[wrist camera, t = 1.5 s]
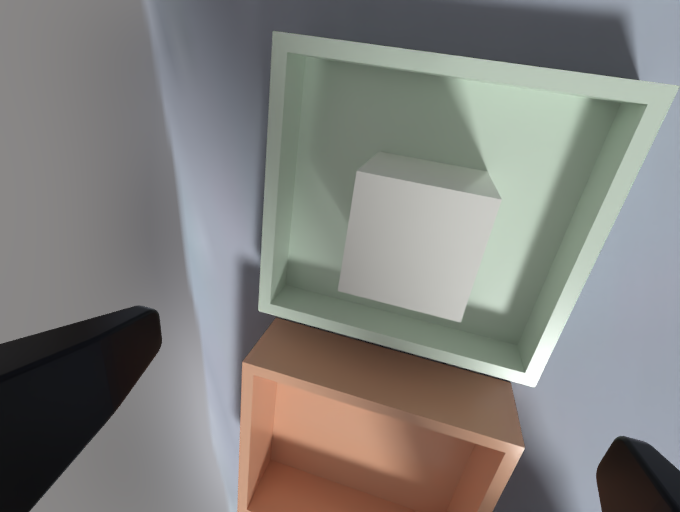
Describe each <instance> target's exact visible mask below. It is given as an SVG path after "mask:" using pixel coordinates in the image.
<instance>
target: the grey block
mask: <svg viewBox="0 0 680 512" xmlns="http://www.w3.org/2000/svg"><path fill="white" fill-rule="evenodd" d="M501 201H502V199H501V197H500V195H499V193H498V191H497V189H496V187H495V185H494V183H493V181H492V179H491V177H490V175H489V173H488V171H483V170H477V169H472V168H466V167H461V166H456V165H450V164H445V163H440V162H434V161H429V160H423V159H418V158H413V157H407V156H402V155H396V154H391V153H386V152H380V151H379V152H378V153H377V154H376V155H374V156H373V157H372V158H371V159H370V160H369V161H368V162H366V163H365V164H364V165H363V166H362V167H361V168H359V169H358V170H357V172H356V178H355V185H354V191H353V197H352V204H351V210H350V216H349V223H348V229H347V236H346V242H345V248H344V255H343V261H342V267H341V274H340V280H339V286H338V291H340V292H344V293H347V294H351V295H355V296H359V297H363V298H367V299H371V300H375V301H379V302H382V303H386V304H390V305H394V306H398V307H402V308H406V309H410V310H414V311H418V312H421V313H425V314H429V315H433V316H437V317H441V318H445V319H449V320H453V321H457V322H460V323H461V320H462V317H463V314H464V311H465V308H466V305H467V302H468V299H469V296H470V293H471V290H472V287H473V284H474V281H475V278H476V275H477V272H478V269H479V266H480V263H481V260H482V257H483V254H484V251H485V248H486V245H487V243H488V240H489V237H490V234H491V231H492V228H493V225H494V222H495V219H496V216H497V213H498V210H499V207H500V204H501Z"/></svg>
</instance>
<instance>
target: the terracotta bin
mask: <svg viewBox="0 0 680 512" xmlns="http://www.w3.org/2000/svg"><path fill="white" fill-rule="evenodd" d="M524 449H525V445H524V441H523V436H522V432H521V427H520V423H519V418H518V413H517V409H516V404H515V400H514V395H513V390H512V386H511V383H510V382H507V381H503V380H499V379H496V378H492V377H489V376H485V375H481V374H478V373H474V372H471V371H467V370H463V369H460V368H456V367H453V366H449V365H445V364H442V363H438V362H435V361H431V360H427V359H424V358H420V357H417V356H413V355H409V354H406V353H402V352H398V351H395V350H391V349H388V348H384V347H380V346H377V345H373V344H370V343H366V342H362V341H359V340H355V339H352V338H348V337H344V336H341V335H337V334H334V333H330V332H326V331H323V330H319V329H316V328H312V327H308V326H305V325H301V324H298V323H294V322H290V321H287V320H283V319H280V318H275V320H274V321H273V322H272V323H271V325H270V326H269V327H268V329H267V330H266V331H265V333H264V334H263V335H262V337H261V338H260V339H259V341H258V342H257V343H256V345H255V346H254V347H253V348H252V350H251V351H250V352H249V354H248V355H247V356H246V358H245V359H244V360H243V362H242V387H241V418H240V448H239V479H238V510H237V512H492V511H493V509H494V507H495V505H496V503H497V502H498V500H499V498H500V496H501V494H502V492H503V490H504V488H505V486H506V484H507V482H508V480H509V478H510V476H511V474H512V472H513V470H514V468H515V467H516V465H517V463H518V461H519V459H520V457H521V455H522V453H523V451H524Z"/></svg>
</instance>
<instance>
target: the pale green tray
mask: <svg viewBox="0 0 680 512" xmlns="http://www.w3.org/2000/svg"><path fill="white" fill-rule="evenodd" d="M679 87H680V86H677V85H669V84H662V83H654V82H647V81H640V80H632V79H625V78H618V77H610V76H603V75H595V74H588V73H581V72H573V71H566V70H559V69H551V68H544V67H536V66H529V65H522V64H514V63H507V62H499V61H492V60H485V59H477V58H470V57H463V56H455V55H448V54H440V53H433V52H426V51H418V50H411V49H404V48H396V47H389V46H381V45H374V44H367V43H359V42H352V41H345V40H337V39H330V38H322V37H315V36H308V35H300V34H293V33H285V32H278V31H273V34H272V54H271V73H270V92H269V111H268V130H267V150H266V169H265V188H264V207H263V226H262V246H261V265H260V284H259V303H258V311H260V312H263V313H267V314H271V315H274V316H278V317H281V318H285V319H289V320H292V321H296V322H300V323H303V324H307V325H310V326H314V327H318V328H321V329H325V330H328V331H332V332H336V333H339V334H343V335H346V336H350V337H354V338H357V339H361V340H365V341H368V342H372V343H375V344H379V345H383V346H386V347H390V348H393V349H397V350H401V351H404V352H408V353H411V354H415V355H419V356H422V357H426V358H430V359H433V360H437V361H440V362H444V363H448V364H451V365H455V366H458V367H462V368H466V369H469V370H473V371H476V372H480V373H484V374H487V375H491V376H495V377H498V378H502V379H505V380H509V381H513V382H516V383H520V384H523V385H527V386H531V387H534V388H535V386H536V384H537V382H538V380H539V378H540V376H541V374H542V372H543V369H544V367H545V365H546V363H547V361H548V359H549V357H550V355H551V353H552V351H553V349H554V347H555V345H556V342H557V340H558V338H559V336H560V334H561V332H562V330H563V328H564V326H565V324H566V322H567V320H568V318H569V315H570V313H571V311H572V309H573V307H574V305H575V303H576V301H577V299H578V297H579V295H580V293H581V291H582V288H583V286H584V284H585V282H586V280H587V278H588V276H589V274H590V272H591V270H592V268H593V266H594V264H595V261H596V259H597V257H598V255H599V253H600V251H601V249H602V247H603V245H604V243H605V241H606V239H607V237H608V234H609V232H610V230H611V228H612V226H613V224H614V222H615V220H616V218H617V216H618V214H619V212H620V210H621V207H622V205H623V203H624V201H625V199H626V197H627V195H628V193H629V191H630V189H631V187H632V185H633V183H634V180H635V178H636V176H637V174H638V172H639V170H640V168H641V166H642V164H643V162H644V160H645V158H646V156H647V153H648V151H649V149H650V147H651V145H652V143H653V141H654V139H655V137H656V135H657V133H658V131H659V129H660V126H661V124H662V122H663V120H664V118H665V116H666V114H667V112H668V110H669V108H670V106H671V104H672V102H673V99H674V97H675V95H676V93H677V91H678V89H679ZM379 151H380V152H386V153H391V154H396V155H402V156H407V157H413V158H418V159H423V160H429V161H434V162H440V163H445V164H450V165H456V166H461V167H466V168H472V169H477V170H483V171H488V173H489V175H490V177H491V179H492V181H493V183H494V185H495V187H496V189H497V191H498V193H499V195H500V197H501V199H502V201H501V204H500V207H499V210H498V213H497V216H496V219H495V222H494V225H493V228H492V231H491V234H490V237H489V240H488V243H487V245H486V248H485V251H484V254H483V257H482V260H481V263H480V266H479V269H478V272H477V275H476V278H475V281H474V284H473V287H472V290H471V293H470V296H469V299H468V302H467V305H466V308H465V311H464V314H463V317H462V320H461V323H460V322H457V321H453V320H449V319H445V318H441V317H437V316H433V315H429V314H425V313H421V312H418V311H414V310H410V309H406V308H402V307H398V306H394V305H390V304H386V303H382V302H379V301H375V300H371V299H367V298H363V297H359V296H355V295H351V294H347V293H344V292H340V291H338V286H339V280H340V274H341V267H342V261H343V255H344V248H345V242H346V236H347V229H348V223H349V216H350V210H351V204H352V197H353V191H354V185H355V178H356V172H357V170H358V169H359V168H361V167H362V166H363V165H364V164H365V163H366V162H368V161H369V160H370V159H371V158H372V157H373V156H374V155H376V154H377V153H378V152H379Z"/></svg>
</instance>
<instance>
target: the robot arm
mask: <svg viewBox="0 0 680 512" xmlns="http://www.w3.org/2000/svg"><path fill="white" fill-rule="evenodd" d="M161 344H162V336H161V326H160V318H159V313H158V312H157V311H156V310H155V309H152V308H148V307H145V306H134V307H131V308H127V309H123V310H120V311H116V312H112V313H109V314H106V315H102V316H98V317H95V318H91V319H88V320H84V321H80V322H77V323H73V324H70V325H66V326H63V327H59V328H56V329H52V330H48V331H45V332H41V333H38V334H35V335H31V336H27V337H24V338H20V339H17V340H13V341H9V342H6V343H3V344H0V512H29V511H30V510H31V509H32V508H33V507H34V506H35V505H36V503H37V502H38V501H39V500H40V498H42V497H43V495H44V494H45V493H46V492H47V491H48V489H49V488H50V487H51V486H52V485H53V484H54V483H55V481H56V480H57V479H58V478H59V477H60V476H61V474H62V473H63V472H64V471H65V470H66V469H67V467H68V466H69V465H70V464H71V463H72V462H73V460H74V459H75V458H76V457H77V456H78V455H79V454H80V452H81V451H82V450H83V449H84V448H85V447H86V445H87V444H88V443H89V442H90V441H91V440H92V438H93V437H94V436H95V435H96V434H97V433H98V431H99V430H100V429H101V428H102V427H103V426H104V425H105V423H106V422H107V421H108V420H109V419H110V417H111V416H112V415H113V414H114V412H115V411H116V410H117V409H118V407H119V406H120V405H121V403H122V402H123V400H124V399H125V398H126V396H127V395H128V394H129V392H130V391H131V389H132V388H133V387H134V385H135V384H136V382H137V381H138V380H139V378H140V377H141V375H142V374H143V373H144V371H145V370H146V368H147V367H148V366H149V364H150V363H151V361H152V360H153V358H154V357H155V356H156V354H157V353H158V351H159V349H160V347H161ZM596 479H597V486H598V492H599V497H600V503H601V509H602V512H680V471H679V470H678V469H677V468H676V467H675V466H674V465H673V464H671V463H670V462H669V461H668V460H667V459H666V458H665V457H664V456H662V455H661V454H660V453H659V452H658V451H657V450H656V449H655V448H653V447H652V446H651V445H650V444H648V443H646V442H644V441H640V440H637V439H633V438H629V437H625V436H619V437H617V438H616V439H615V440H614V441H613V443H612V444H611V446H610V447H609V449H608V451H607V452H606V454H605V455H604V457H603V459H602V460H601V462H600V463H599V465H598V468H597V473H596Z"/></svg>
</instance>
